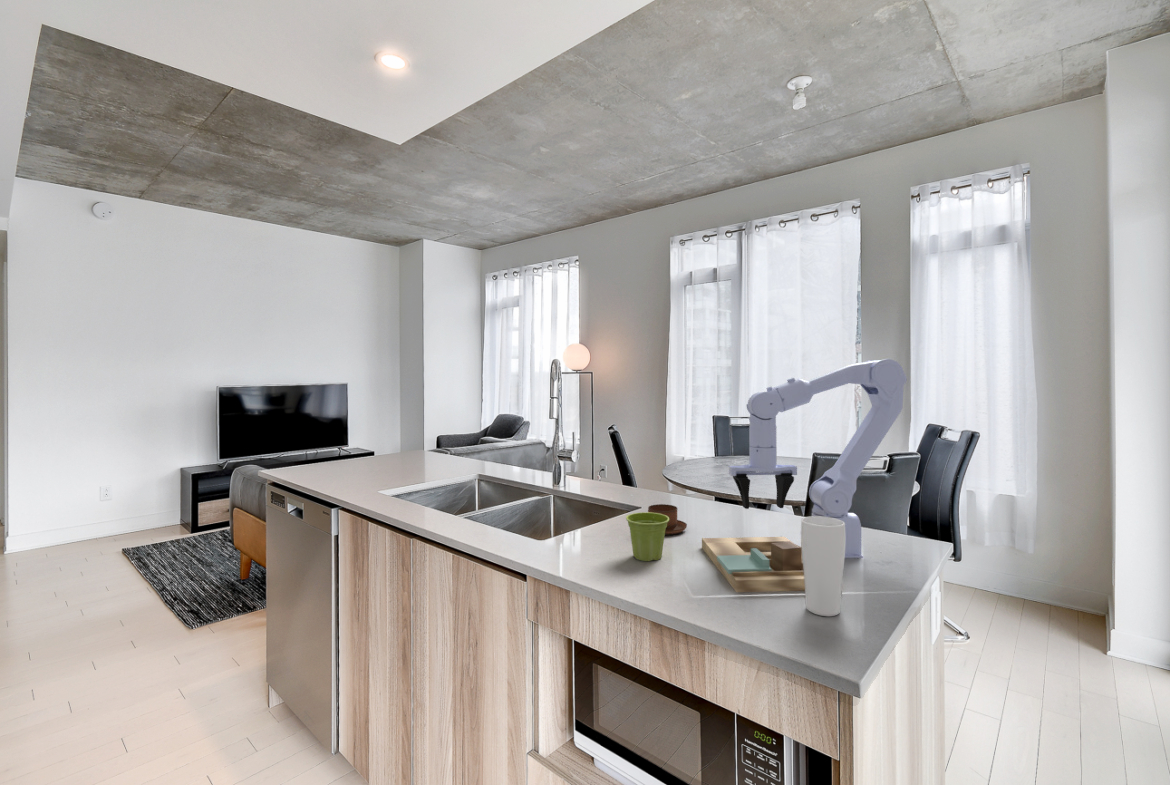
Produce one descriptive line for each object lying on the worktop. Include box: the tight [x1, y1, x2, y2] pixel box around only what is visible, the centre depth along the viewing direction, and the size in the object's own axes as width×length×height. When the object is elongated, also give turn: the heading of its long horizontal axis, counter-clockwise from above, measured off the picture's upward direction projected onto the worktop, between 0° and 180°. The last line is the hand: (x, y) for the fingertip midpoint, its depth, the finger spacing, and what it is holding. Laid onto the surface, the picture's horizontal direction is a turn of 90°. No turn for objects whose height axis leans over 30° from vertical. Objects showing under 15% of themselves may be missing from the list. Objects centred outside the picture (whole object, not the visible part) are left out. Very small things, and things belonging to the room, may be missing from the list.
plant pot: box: [625, 511, 669, 562], centre depth 119 cm, size 9×9×9 cm
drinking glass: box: [800, 515, 846, 617], centre depth 91 cm, size 7×7×15 cm
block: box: [771, 541, 802, 571], centre depth 106 cm, size 4×4×6 cm
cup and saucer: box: [647, 503, 688, 536], centre depth 139 cm, size 12×12×6 cm
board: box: [701, 536, 805, 593], centre depth 112 cm, size 19×26×3 cm
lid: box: [717, 548, 771, 574], centre depth 106 cm, size 8×8×2 cm
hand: (763, 507), depth 122 cm, fingers open, 7 cm apart
